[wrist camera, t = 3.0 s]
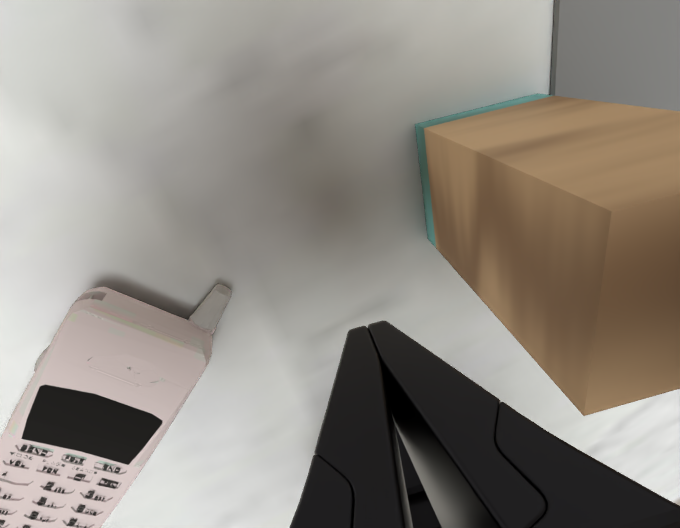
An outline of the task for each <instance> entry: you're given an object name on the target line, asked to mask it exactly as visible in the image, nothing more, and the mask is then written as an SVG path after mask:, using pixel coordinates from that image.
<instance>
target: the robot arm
mask: <svg viewBox="0 0 680 528" xmlns="http://www.w3.org/2000/svg"><path fill="white" fill-rule="evenodd" d="M290 528H680V506H679V505H677V504H675V503H673V502H671V501H669V500H667V499H665V498H664V497H662V496H660V495H658V494H656V493H655V492H653V491H651V490H649V489H648V488H646V487H644V486H642V485H640V484H639V483H637V482H635V481H633V480H631V479H630V478H628V477H626V476H624V475H623V474H621V473H619V472H617V471H615V470H614V469H612V468H610V467H608V466H606V465H605V464H603V463H601V462H599V461H598V460H596V459H594V458H592V457H590V456H589V455H587V454H585V453H583V452H582V451H580V450H578V449H576V448H575V447H573V446H571V445H569V444H568V443H566V442H564V441H563V440H561V439H559V438H558V437H556V436H554V435H553V434H551V433H549V432H547V431H546V430H544V429H543V428H541V427H540V426H538V425H537V424H535V423H534V422H532V421H530V420H529V419H527V418H526V417H524V416H523V415H521V414H520V413H518V412H517V411H515V410H514V409H513V408H511V407H510V406H508V405H507V404H505V403H504V402H500V400H499V399H498V398H496V397H495V396H494V395H492V394H491V393H489V392H488V391H486V390H485V389H483V388H482V387H481V386H479V385H478V384H476V383H475V382H473V381H472V380H471V379H469V378H468V377H466V376H465V375H463V374H462V373H460V372H459V371H458V370H456V369H455V368H453V367H452V366H450V365H449V364H447V363H446V362H445V361H443V360H442V359H440V358H439V357H437V356H436V355H434V354H433V353H432V352H430V351H429V350H427V349H426V348H424V347H423V346H421V345H420V344H419V343H417V342H416V341H414V340H413V339H411V338H410V337H408V336H407V335H406V334H404V333H403V332H401V331H400V330H398V329H397V328H395V327H394V326H393V325H391V324H390V323H388V322H387V321H380V322H376V323H372V324H369V325H368V328H367V327H366V326H361V327H357V328H354V329H351V330H349V331H348V334H347V338H346V341H345V345H344V348H343V352H342V355H341V359H340V363H339V366H338V370H337V373H336V377H335V380H334V384H333V388H332V391H331V395H330V398H329V402H328V406H327V409H326V413H325V416H324V420H323V423H322V427H321V431H320V434H319V438H318V441H317V445H316V449H315V455H314V456H313V459H312V462H311V466H310V469H309V473H308V476H307V479H306V483H305V486H304V489H303V492H302V495H301V498H300V502H299V504H298V507H297V510H296V512H295V515H294V517H293V520H292V523H291V525H290Z"/></svg>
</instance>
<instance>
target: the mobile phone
mask: <svg viewBox="0 0 680 528" xmlns="http://www.w3.org/2000/svg"><path fill="white" fill-rule="evenodd" d="M231 293H232V291H231V290H230V289H229V288H227V287H226V286H224V285H220V284H216V286H215V287H214V288H213V289H212V291H211V292H210V293H209V294H208V296H207V297H206V298H205V299H204V300H203V302H202V303H201V304H200V305H199V307H198V308H197V309H196V310H195V312H194V313H193V314H192V315H191V316H190V318H189V319H188V320H186V319H184V318H181V317H179V316H176V315H174V314H171V313H169V312H166V311H164V310H161V309H159V308H156V307H154V306H152V305H149V304H147V303H144V302H142V301H139V300H137V299H134V298H132V297H129V296H127V295H124V294H122V293H119V292H117V291H115V290H112V289H110V288H107V287H98V288H93V289H90V290H87V291H86V292H84V293H83V294H82V295H81V296H80V297H79V298H78V299H77V300H76V301H75V303H74V304H73V305H72V306H71V307H70V309H69V311H68V313H67V315H66V317H65V318H64V320H63V322H62V324H61V326H60V328H59V329H58V331H57V333H56V335H55V337H54V338H53V340H52V342H51V344H50V345H49V346H48V347H47V348H46V349H45V350H44V351H43V353H42V354H41V355H40V356H39V358H38V360H37V362H36V364H35V369H34V371H35V373H34V375H33V377H32V379H31V380H30V382H29V384H28V386H27V388H26V390H25V391H24V393H23V395H22V397H21V399H20V401H19V403H18V404H17V406H16V408H15V410H14V412H13V414H12V416H11V418H10V420H9V422H8V424H7V426H6V428H5V430H4V432H3V434H2V436H1V438H0V528H100V527H101V526H102V524H103V523H104V522H105V520H106V519H107V518H108V516H109V515H110V514H111V512H112V511H113V510H114V508H115V507H116V506H117V504H118V503H119V502H120V500H121V499H122V497H123V496H124V495H125V493H126V492H127V490H128V489H129V487H130V486H131V484H132V483H133V481H134V480H135V479H136V477H137V476H138V474H139V473H140V471H141V470H142V468H143V467H144V465H145V464H146V462H147V461H148V459H149V458H150V456H151V454H152V453H153V451H154V450H155V448H156V447H157V445H158V444H159V442H160V441H161V439H162V438H163V436H164V435H165V433H166V431H167V430H168V428H169V427H170V425H171V423H172V422H173V420H174V419H175V417H176V415H177V414H178V412H179V410H180V409H181V407H182V406H183V404H184V402H185V401H186V399H187V398H188V396H189V394H190V393H191V391H192V389H193V388H194V386H195V385H196V383H197V381H198V380H199V378H200V377H201V375H202V373H203V372H204V370H205V368H206V367H207V365H208V363H209V361H210V357H211V354H212V337H211V336H212V334H213V333H214V331H215V330H216V325H217V323H218V321H219V319H220V317H221V315H222V313H223V311H224V309H225V307H226V305H227V303H228V301H229V299H230V297H231Z"/></svg>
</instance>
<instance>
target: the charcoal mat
mask: <svg viewBox="0 0 680 528" xmlns="http://www.w3.org/2000/svg"><path fill="white" fill-rule="evenodd" d="M550 95H553V96H561V97H569V98H577V99H585V100H593V101H601V102H609V103H617V104H625V105H633V106H641V107H649V108H657V109H665V110H673V111H680V0H555V2H554V24H553V45H552V66H551V88H550Z"/></svg>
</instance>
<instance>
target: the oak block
mask: <svg viewBox="0 0 680 528" xmlns="http://www.w3.org/2000/svg"><path fill="white" fill-rule="evenodd" d="M415 128H416V137H417V146H418V155H419V164H420V173H421V182H422V191H423V200H424V209H425V218H426V227H427V236H428V239H429V241H430V242H431V243H432V244H433V245H434V246H435V247H436V249H437V250H438V251H439V252H440V253H441V254H442V255H443V256H444V258H445V259H446V260H447V261H448V262H449V263H450V264H451V266H452V267H453V268H454V269H455V270H456V271H457V272H458V274H459V275H460V276H461V277H462V278H463V279H464V280H465V281H466V283H467V284H468V285H469V286H470V287H471V288H472V289H473V291H474V292H475V293H476V294H477V295H478V296H479V297H480V299H481V300H482V301H483V302H484V303H485V304H486V305H487V306H488V308H489V309H490V310H491V311H492V312H493V313H494V314H495V316H496V317H497V318H498V319H499V320H500V321H501V322H502V324H503V325H504V326H505V327H506V328H507V329H508V330H509V331H510V333H511V334H512V335H513V336H514V337H515V338H516V339H517V341H518V342H519V343H520V344H521V345H522V346H523V347H524V349H525V350H526V351H527V352H528V353H529V354H530V355H531V356H532V358H533V359H534V360H535V361H536V362H537V363H538V364H539V366H540V367H541V368H542V369H543V370H544V371H545V372H546V374H547V375H548V376H549V377H550V378H551V379H552V380H553V381H554V383H555V384H556V385H557V386H558V387H559V388H560V389H561V391H562V392H563V393H564V394H565V395H566V396H567V397H568V398H569V400H570V401H571V402H572V403H573V404H574V405H575V406H576V408H577V409H578V410H579V411H580V412H581V413H582V414H583V416H585V415H589V414H592V413H596V412H599V411H603V410H606V409H610V408H613V407H617V406H620V405H624V404H627V403H631V402H634V401H638V400H641V399H645V398H648V397H652V396H655V395H659V394H662V393H666V392H669V391H673V390H676V389H680V111H673V110H665V109H657V108H649V107H641V106H633V105H625V104H617V103H609V102H601V101H593V100H585V99H577V98H569V97H561V96H553V95H545V94H534V95H530V96H526V97H522V98H518V99H514V100H510V101H506V102H502V103H498V104H494V105H490V106H486V107H482V108H478V109H474V110H470V111H466V112H462V113H458V114H454V115H450V116H446V117H442V118H438V119H434V120H430V121H426V122H422V123H418V124H415Z"/></svg>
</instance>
